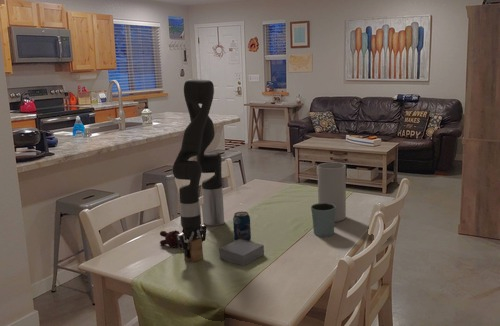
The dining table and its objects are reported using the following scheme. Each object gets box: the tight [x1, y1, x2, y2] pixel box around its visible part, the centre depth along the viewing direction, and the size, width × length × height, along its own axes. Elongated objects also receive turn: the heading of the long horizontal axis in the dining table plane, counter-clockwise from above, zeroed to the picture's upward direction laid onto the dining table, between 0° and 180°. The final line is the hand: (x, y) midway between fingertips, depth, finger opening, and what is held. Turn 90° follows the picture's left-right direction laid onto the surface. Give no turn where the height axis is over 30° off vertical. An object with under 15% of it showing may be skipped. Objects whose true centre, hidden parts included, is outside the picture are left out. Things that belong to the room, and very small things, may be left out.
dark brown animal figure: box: [159, 229, 181, 248], centre depth 191 cm, size 7×7×15 cm
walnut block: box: [183, 238, 204, 263], centre depth 178 cm, size 5×5×8 cm
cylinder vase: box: [317, 162, 347, 223], centre depth 215 cm, size 12×12×25 cm
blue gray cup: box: [310, 202, 336, 238], centre depth 198 cm, size 10×10×12 cm
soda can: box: [232, 211, 252, 241], centre depth 193 cm, size 7×7×12 cm
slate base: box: [218, 239, 265, 267], centre depth 179 cm, size 12×12×4 cm
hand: (193, 255), depth 179 cm, fingers closed on walnut block, 5 cm apart
